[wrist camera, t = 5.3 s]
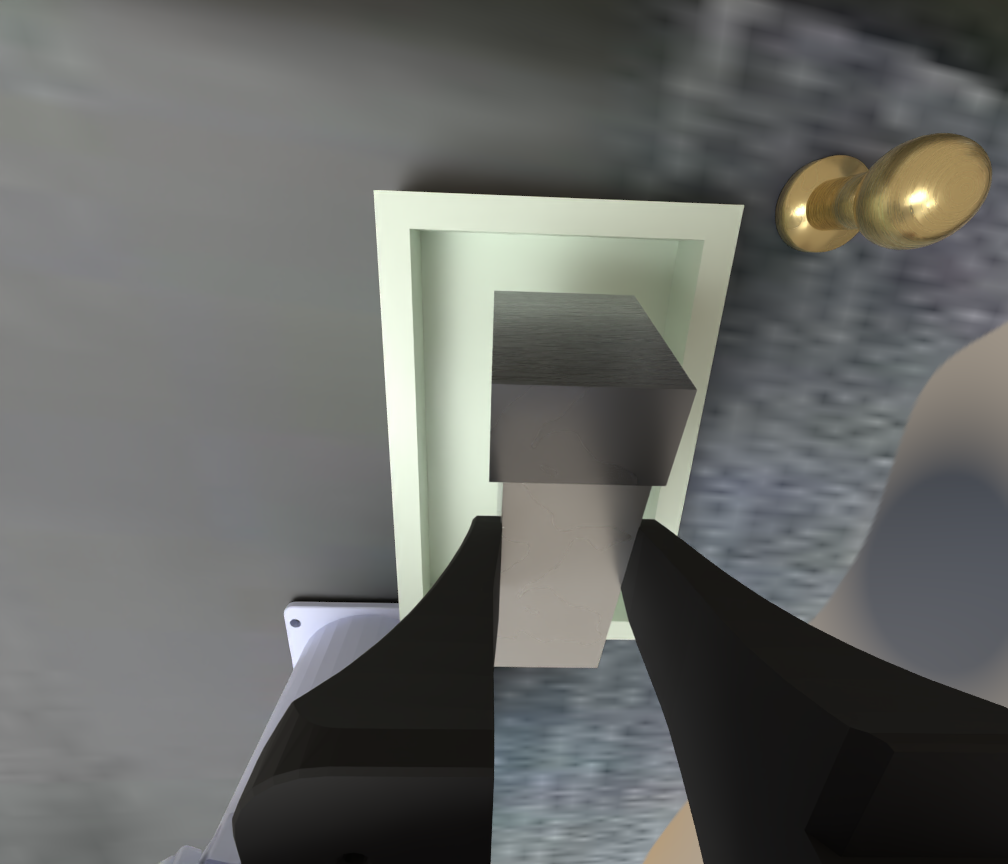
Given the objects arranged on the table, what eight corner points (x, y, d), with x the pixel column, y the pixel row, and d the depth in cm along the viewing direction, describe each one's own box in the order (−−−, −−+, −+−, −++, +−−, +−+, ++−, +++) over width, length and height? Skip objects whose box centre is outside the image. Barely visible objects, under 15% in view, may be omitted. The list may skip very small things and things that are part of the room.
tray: (637, 595, 23) (656, 640, 20) (411, 591, 22) (400, 636, 20) (705, 211, 17) (744, 204, 14) (393, 199, 16) (373, 190, 14)
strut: (583, 542, 19) (606, 667, 14) (487, 540, 18) (484, 666, 14) (634, 295, 13) (697, 390, 9) (493, 290, 13) (491, 384, 9)
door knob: (846, 253, 17) (999, 256, 12) (766, 250, 17) (885, 252, 12) (873, 160, 16) (1054, 118, 11) (787, 156, 16) (928, 113, 11)
